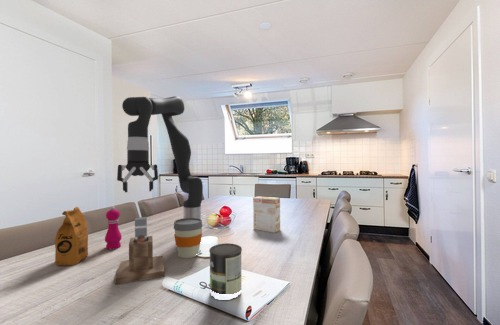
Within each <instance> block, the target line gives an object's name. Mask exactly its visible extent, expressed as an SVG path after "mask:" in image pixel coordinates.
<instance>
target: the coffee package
mask: <svg viewBox="0 0 500 325" xmlns="http://www.w3.org/2000/svg"><path fill="white" fill-rule="evenodd" d="M61 214H62V216H65V217H64V219H63V222H62V224H61V225H60V226H59V228H58V230H57V231H56V233H55V237H54V238H55V239H54V245H55V246H54V248H55V250H54V251H55V255H54V256H55V257H54V258H55V259H54V260H55V261H54V263H55V264H56V266H58V267H60V266H74V265H78V264H79V263H80V262H81V261H84V260H86V258H87V256H88V255H89V230H88V229H89V228H88V223H87V219H86V217H85V215H84V214H83V212H82V211H81V210H80V208H79V206H75V207H74V208H73V209H72V210H65V211H63V212H62V213H61Z"/></svg>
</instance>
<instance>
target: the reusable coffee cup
mask: <svg viewBox="0 0 500 325" xmlns="http://www.w3.org/2000/svg"><path fill="white" fill-rule="evenodd" d="M202 221H203V220H202V218H201V219H198V218H184V219H183V218H179V219H175V220H174V223H173V230H174V242H175V243H174V244H175V246H176V248H177V255H178V257H179V258H182V259H190V258H194V257H196V256H195V255H196V254H198V253H199V252H200V246H201V245H200V244H201V243H202V239H201V236H202V237H203V231H202V232H201V228H202V229H203V222H202ZM200 242H201V243H200ZM198 255H199V254H198Z"/></svg>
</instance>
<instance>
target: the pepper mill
mask: <svg viewBox="0 0 500 325" xmlns="http://www.w3.org/2000/svg"><path fill="white" fill-rule="evenodd" d="M120 216H121V214H120V211H119V210H118V209H116V207H115V206H113V205H112V206H110V209H109V210H108V211H107V212H106V213H105V218H106V219H107V221H106V222H107V225H108V226H107V227H108V228H107V231H106V234H105V236H104V242H105V243H106V245H105V248H106V250H115V249H119V248H120V247H121V244H122V243H121V240H122V237H123V236H122V233H121V231H120V229H119V222H120V221H119V218H120Z"/></svg>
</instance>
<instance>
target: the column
mask: <svg viewBox="0 0 500 325" xmlns="http://www.w3.org/2000/svg"><path fill="white" fill-rule="evenodd" d="M147 218H148V217H147V216H140V217H135V218H134V238H135V242H137V238H142V237H144V241H147V236H148V221H147V220H148V219H147Z"/></svg>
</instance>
